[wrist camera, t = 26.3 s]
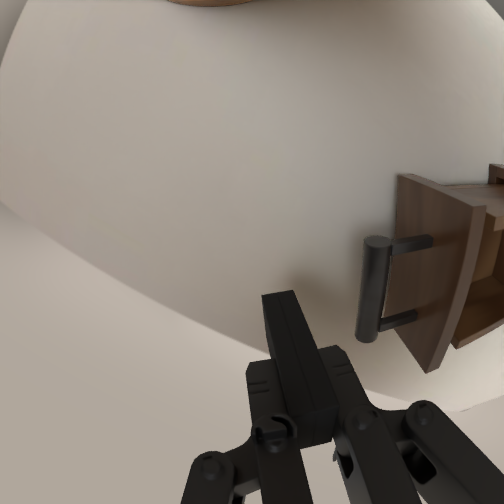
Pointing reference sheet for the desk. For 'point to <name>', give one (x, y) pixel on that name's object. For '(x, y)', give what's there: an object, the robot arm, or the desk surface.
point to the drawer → (436, 269)
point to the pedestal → (209, 2)
